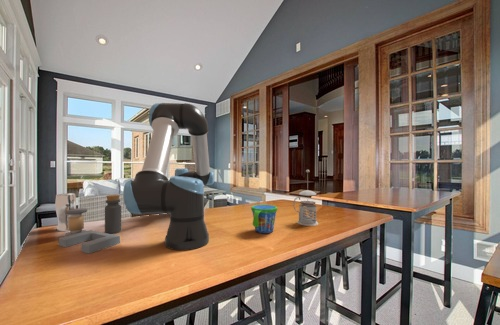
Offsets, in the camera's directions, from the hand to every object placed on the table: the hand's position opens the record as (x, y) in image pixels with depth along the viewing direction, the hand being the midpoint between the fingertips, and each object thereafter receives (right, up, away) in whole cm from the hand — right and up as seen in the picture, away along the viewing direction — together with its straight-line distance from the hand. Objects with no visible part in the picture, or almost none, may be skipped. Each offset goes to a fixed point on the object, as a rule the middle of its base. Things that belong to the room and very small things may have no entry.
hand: (133, 205), depth 104 cm
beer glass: (-27, -9, -5) cm, 29 cm away
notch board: (-4, -9, -23) cm, 25 cm away
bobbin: (-16, -9, -13) cm, 23 cm away
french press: (+78, -9, +5) cm, 79 cm away
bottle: (-4, -9, -9) cm, 14 cm away
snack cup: (+58, -9, -8) cm, 59 cm away
